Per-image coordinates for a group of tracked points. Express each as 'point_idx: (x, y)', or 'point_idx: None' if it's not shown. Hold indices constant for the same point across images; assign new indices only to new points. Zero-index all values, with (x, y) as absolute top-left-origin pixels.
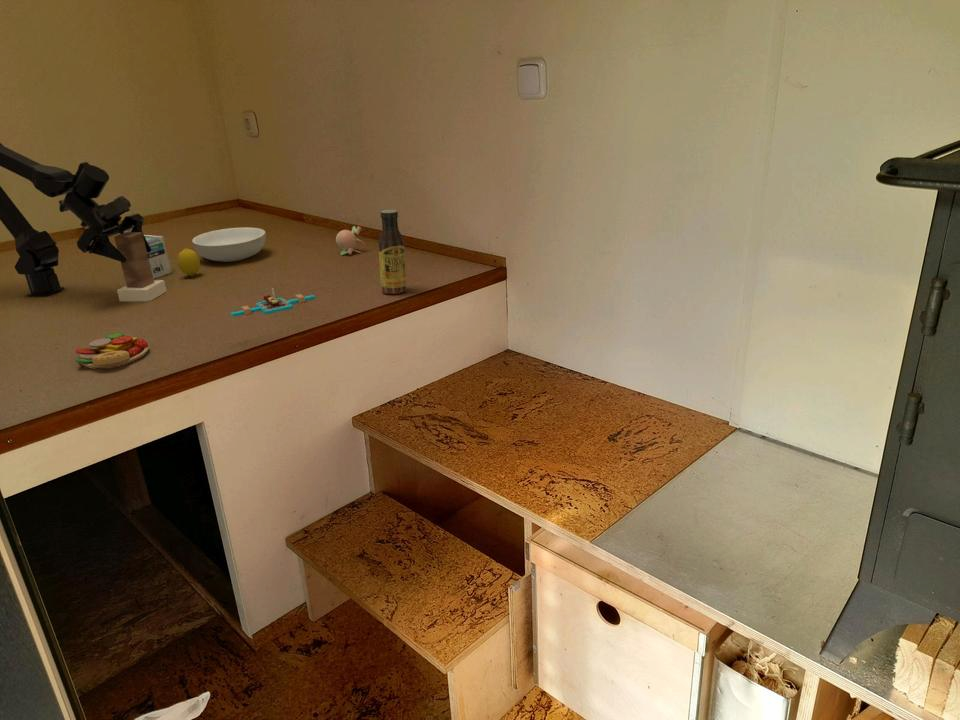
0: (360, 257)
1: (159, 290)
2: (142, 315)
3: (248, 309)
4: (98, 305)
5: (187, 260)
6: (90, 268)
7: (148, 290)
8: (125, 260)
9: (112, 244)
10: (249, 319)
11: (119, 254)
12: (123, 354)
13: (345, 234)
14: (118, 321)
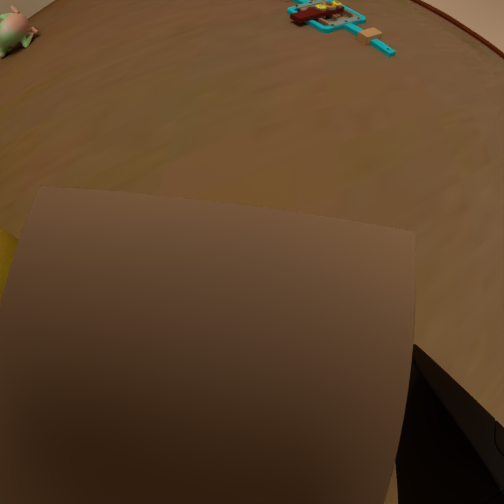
0: (55, 22)
1: None
2: (446, 251)
3: (376, 29)
4: None
5: (4, 247)
6: None
7: None
8: (413, 346)
9: (493, 469)
10: (398, 36)
11: (453, 380)
12: None
13: (18, 14)
14: (491, 298)
